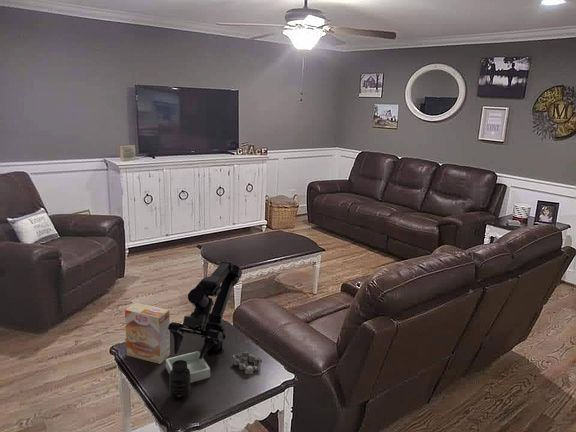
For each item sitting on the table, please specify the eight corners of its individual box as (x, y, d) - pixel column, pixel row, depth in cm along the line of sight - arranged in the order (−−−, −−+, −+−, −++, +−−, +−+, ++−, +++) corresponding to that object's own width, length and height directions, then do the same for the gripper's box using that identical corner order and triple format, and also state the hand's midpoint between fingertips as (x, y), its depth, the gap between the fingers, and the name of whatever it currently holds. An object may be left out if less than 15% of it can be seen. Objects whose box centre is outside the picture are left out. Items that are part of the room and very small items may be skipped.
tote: (198, 358, 167) (198, 350, 166) (210, 377, 156) (210, 368, 156) (165, 367, 161) (165, 359, 160) (175, 387, 150) (175, 378, 149)
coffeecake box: (126, 355, 166) (124, 309, 161) (137, 346, 173) (136, 301, 168) (160, 364, 162) (158, 317, 157) (170, 354, 169) (169, 309, 164)
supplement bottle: (171, 388, 150) (171, 357, 146) (191, 388, 150) (191, 357, 147) (167, 401, 143) (167, 370, 140) (189, 401, 144) (188, 370, 140)
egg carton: (263, 370, 163) (263, 360, 162) (246, 377, 158) (247, 367, 157) (247, 356, 171) (247, 347, 170) (231, 362, 166) (231, 353, 165)
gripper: (169, 301, 151) (153, 345, 144) (219, 309, 147) (205, 356, 140) (180, 311, 161) (166, 353, 153) (228, 320, 157) (215, 364, 149)
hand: (187, 356), depth 149 cm, fingers open, 9 cm apart
